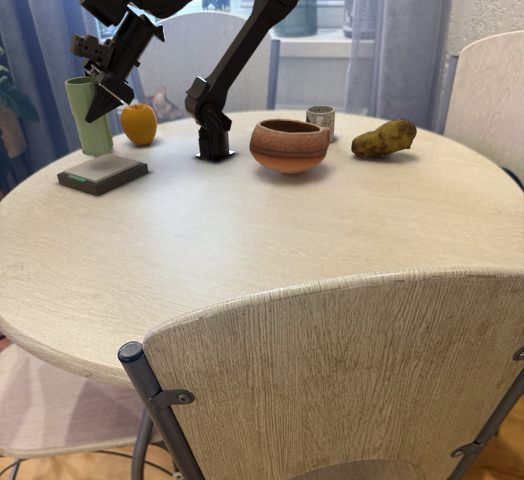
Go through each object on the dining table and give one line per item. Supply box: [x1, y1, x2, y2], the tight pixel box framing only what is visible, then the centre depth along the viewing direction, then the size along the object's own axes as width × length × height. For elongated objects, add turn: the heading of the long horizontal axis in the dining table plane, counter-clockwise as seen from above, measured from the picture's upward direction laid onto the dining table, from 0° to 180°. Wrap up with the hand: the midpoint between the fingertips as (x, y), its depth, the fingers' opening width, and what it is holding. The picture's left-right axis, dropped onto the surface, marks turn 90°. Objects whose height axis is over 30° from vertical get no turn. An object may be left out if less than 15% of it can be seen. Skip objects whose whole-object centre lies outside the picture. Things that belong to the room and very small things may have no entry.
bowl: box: [248, 118, 331, 174], centre depth 108 cm, size 16×16×10 cm
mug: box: [305, 104, 336, 143], centre depth 122 cm, size 10×7×7 cm, turn 172°
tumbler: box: [64, 76, 115, 157], centre depth 104 cm, size 6×6×13 cm
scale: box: [56, 152, 150, 197], centre depth 111 cm, size 14×12×3 cm
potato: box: [350, 118, 418, 158], centre depth 113 cm, size 8×13×8 cm, turn 63°
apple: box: [119, 103, 158, 147], centre depth 125 cm, size 8×8×9 cm
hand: (83, 117), depth 103 cm, fingers closed on tumbler, 6 cm apart
